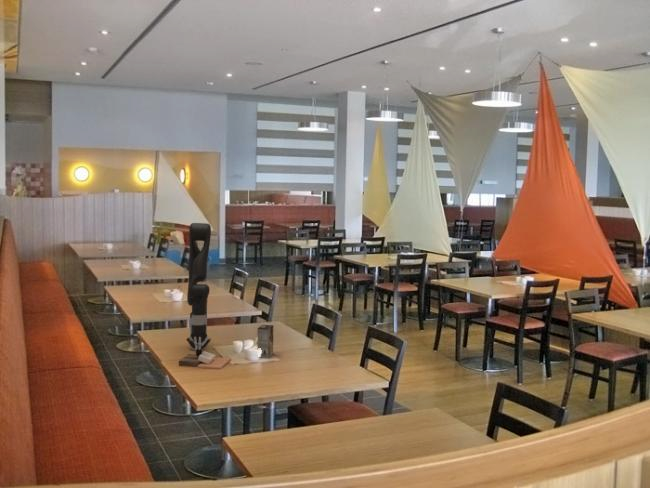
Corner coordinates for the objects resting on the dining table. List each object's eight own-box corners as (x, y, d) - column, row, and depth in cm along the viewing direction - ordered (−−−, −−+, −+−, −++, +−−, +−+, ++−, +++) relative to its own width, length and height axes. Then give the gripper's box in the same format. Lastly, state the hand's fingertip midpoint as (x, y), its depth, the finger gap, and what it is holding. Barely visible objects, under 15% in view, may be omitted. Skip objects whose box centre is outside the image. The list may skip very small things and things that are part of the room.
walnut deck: (188, 358, 359) (188, 353, 359) (206, 359, 357) (206, 355, 357) (178, 365, 345) (178, 360, 345) (197, 366, 344) (197, 362, 343)
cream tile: (203, 355, 355) (204, 351, 354) (214, 359, 354) (215, 355, 354) (197, 360, 346) (199, 355, 346) (208, 364, 345) (210, 359, 345)
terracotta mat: (208, 358, 359) (208, 356, 359) (231, 360, 358) (231, 358, 357) (197, 368, 342) (197, 366, 342) (220, 369, 340) (220, 367, 340)
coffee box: (262, 353, 372) (262, 324, 371) (273, 354, 371) (273, 325, 369) (257, 357, 363) (257, 327, 362) (268, 358, 362) (269, 328, 361)
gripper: (213, 322, 351) (213, 355, 353) (189, 320, 353) (189, 353, 355) (209, 325, 344) (208, 359, 346) (183, 323, 346) (183, 357, 348)
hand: (198, 356), depth 350 cm, fingers closed
